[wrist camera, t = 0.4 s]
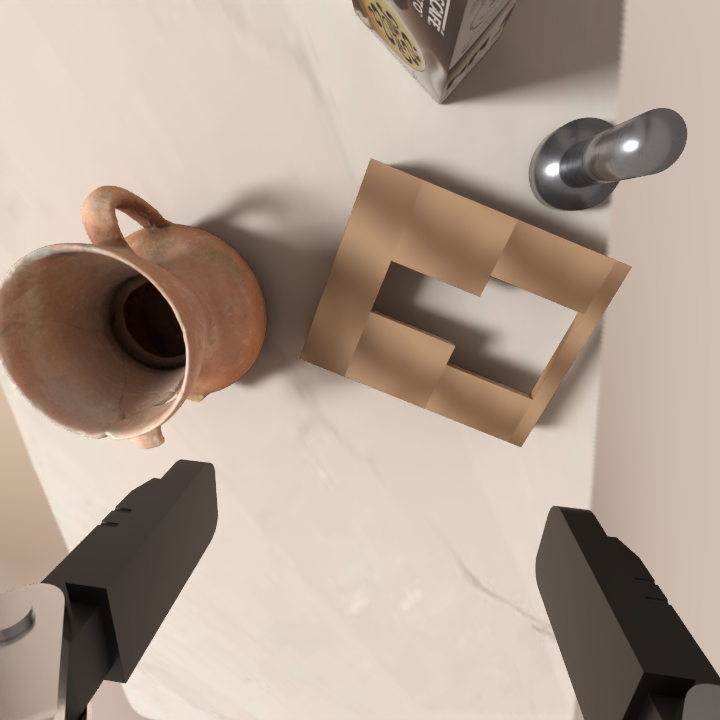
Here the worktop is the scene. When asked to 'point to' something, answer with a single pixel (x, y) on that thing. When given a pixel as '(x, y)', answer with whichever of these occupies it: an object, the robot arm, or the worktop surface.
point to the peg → (603, 157)
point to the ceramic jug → (128, 322)
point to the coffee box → (436, 36)
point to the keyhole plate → (462, 270)
